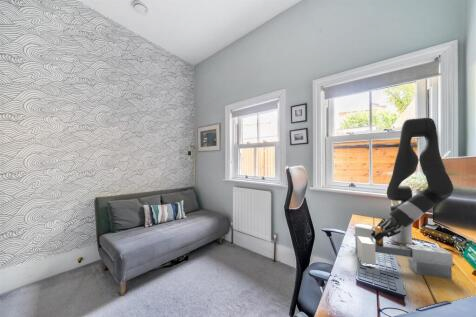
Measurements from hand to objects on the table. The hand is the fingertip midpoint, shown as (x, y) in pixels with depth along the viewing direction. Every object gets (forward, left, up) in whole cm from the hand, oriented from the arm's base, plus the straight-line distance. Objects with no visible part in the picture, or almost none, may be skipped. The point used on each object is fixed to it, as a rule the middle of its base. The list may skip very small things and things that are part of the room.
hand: (373, 237), depth 84 cm
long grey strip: (0, +6, -6) cm, 9 cm away
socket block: (0, -3, -12) cm, 12 cm away
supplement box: (-15, 0, -12) cm, 19 cm away
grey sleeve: (0, +19, -12) cm, 22 cm away
